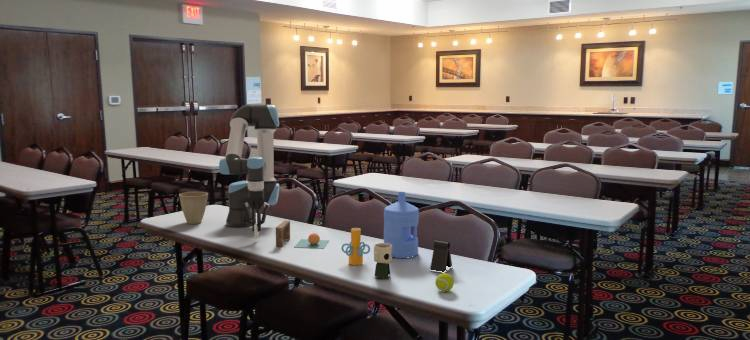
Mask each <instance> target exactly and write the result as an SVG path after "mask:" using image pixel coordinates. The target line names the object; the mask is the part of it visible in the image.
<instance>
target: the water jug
mask: <svg viewBox="0 0 750 340" xmlns="http://www.w3.org/2000/svg"><path fill="white" fill-rule="evenodd" d="M397 194H398V196H397V199H398V201H396V202H394V203H392V204H389V205H387V206H386V207H385V208H384V209H383V210H384V211H383V222H384V223H383V243H388V244H391V245H392V253H391V255H392V257H395V259H408V258H407V257H411V258H413V257H412V256H414V257H416V256H417V255H418V254H419V238H418V225H419V220H420V211H419V208H418V207H416V206H415V205H413V204H411V203H409V202H407V201H406V192H405V191H400V192H398V193H397ZM415 255H416V256H415Z"/></svg>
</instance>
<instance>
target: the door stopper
mask: <svg viewBox="0 0 750 340" xmlns="http://www.w3.org/2000/svg"><path fill="white" fill-rule="evenodd" d="M451 254H452V253H451V243H450V241H444V240H439V239H436V240H434V242H433V251H432V257H431V262H430V269H431V270H436V271H442V272H444V271H445V270H446V266H448V267H451V266H452V267H453V262H452V256H451ZM430 269H429V270H430Z"/></svg>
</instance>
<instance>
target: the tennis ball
mask: <svg viewBox="0 0 750 340" xmlns="http://www.w3.org/2000/svg"><path fill="white" fill-rule="evenodd" d="M434 283H435V286H436V288H437V289H438V290H439V291H440V290H441V291H440V292H443V291H447V292H449V291H452V289H453V287H454V284H455V282H454V278H453V277H452V275H450V274H449V273H447V272H446V273H439V274H438V275H437V277H436V278H435V282H434Z"/></svg>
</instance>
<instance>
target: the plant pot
mask: <svg viewBox="0 0 750 340" xmlns="http://www.w3.org/2000/svg"><path fill="white" fill-rule="evenodd" d="M208 195H209V193H208V192H204V191H187V192H182V193H179V194H178V196H179V201H180V202H179V203H180V207H181V209H182V213H183V217H184V218H185V221H186V224H188V225H197V224H201V223H202V221H203V219H204V215H205V212H206V207H207V204H208Z"/></svg>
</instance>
